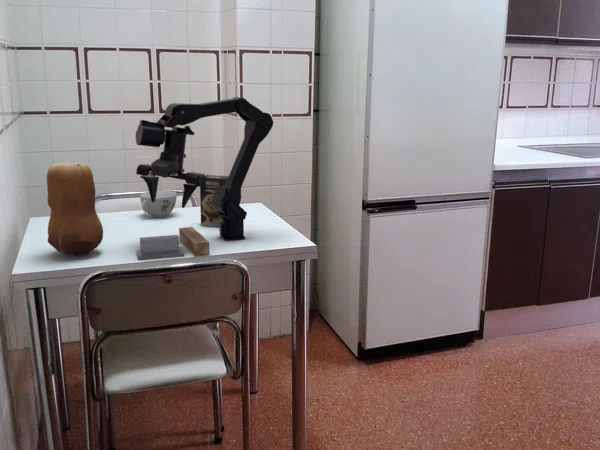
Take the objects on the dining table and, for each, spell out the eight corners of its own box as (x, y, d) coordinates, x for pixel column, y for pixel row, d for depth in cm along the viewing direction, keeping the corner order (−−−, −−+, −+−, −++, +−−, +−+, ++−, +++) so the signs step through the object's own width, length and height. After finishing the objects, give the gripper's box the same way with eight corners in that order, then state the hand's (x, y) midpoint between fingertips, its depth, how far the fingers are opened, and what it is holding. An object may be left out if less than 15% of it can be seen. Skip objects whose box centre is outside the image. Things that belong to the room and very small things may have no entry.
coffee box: (200, 226, 187) (198, 177, 183) (207, 221, 193) (206, 174, 189) (226, 228, 185) (225, 178, 181) (233, 223, 191) (232, 175, 187)
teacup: (156, 210, 208) (155, 189, 206) (185, 214, 203) (184, 192, 201) (128, 219, 195) (127, 196, 193) (158, 223, 190) (156, 199, 188)
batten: (192, 239, 172) (192, 226, 171) (209, 256, 156) (209, 241, 155) (179, 241, 170) (179, 228, 169) (195, 257, 154) (194, 243, 153)
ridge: (180, 250, 160) (180, 232, 158) (184, 256, 154) (183, 238, 153) (136, 254, 155) (135, 236, 154) (138, 260, 150) (137, 241, 149)
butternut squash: (89, 244, 164) (83, 157, 158) (113, 254, 155) (107, 162, 149) (40, 253, 154) (31, 161, 148) (63, 264, 145) (54, 167, 140)
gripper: (128, 143, 152) (123, 201, 155) (193, 154, 149) (186, 213, 151) (148, 144, 163) (143, 198, 166) (209, 154, 159) (203, 209, 162)
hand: (168, 204), depth 161 cm, fingers open, 9 cm apart
